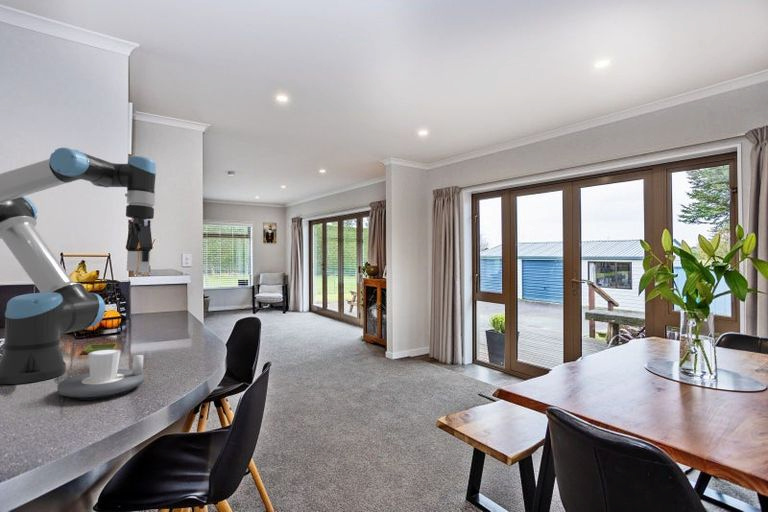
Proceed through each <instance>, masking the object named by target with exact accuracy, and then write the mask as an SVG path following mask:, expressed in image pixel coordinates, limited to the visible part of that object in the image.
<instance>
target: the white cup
mask: <svg viewBox="0 0 768 512" xmlns="http://www.w3.org/2000/svg"><path fill="white" fill-rule="evenodd" d="M121 351H122V350H120V349H116V348H114V349H107V350H98V351H93V352H90V353H89V354H88V365H89V373H90V381H92V382H103V381H109V380H113V379H115V378H116V377H117V371H118V369H119V365H120V364H119V363H120V357H121V353H122V352H121Z"/></svg>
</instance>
